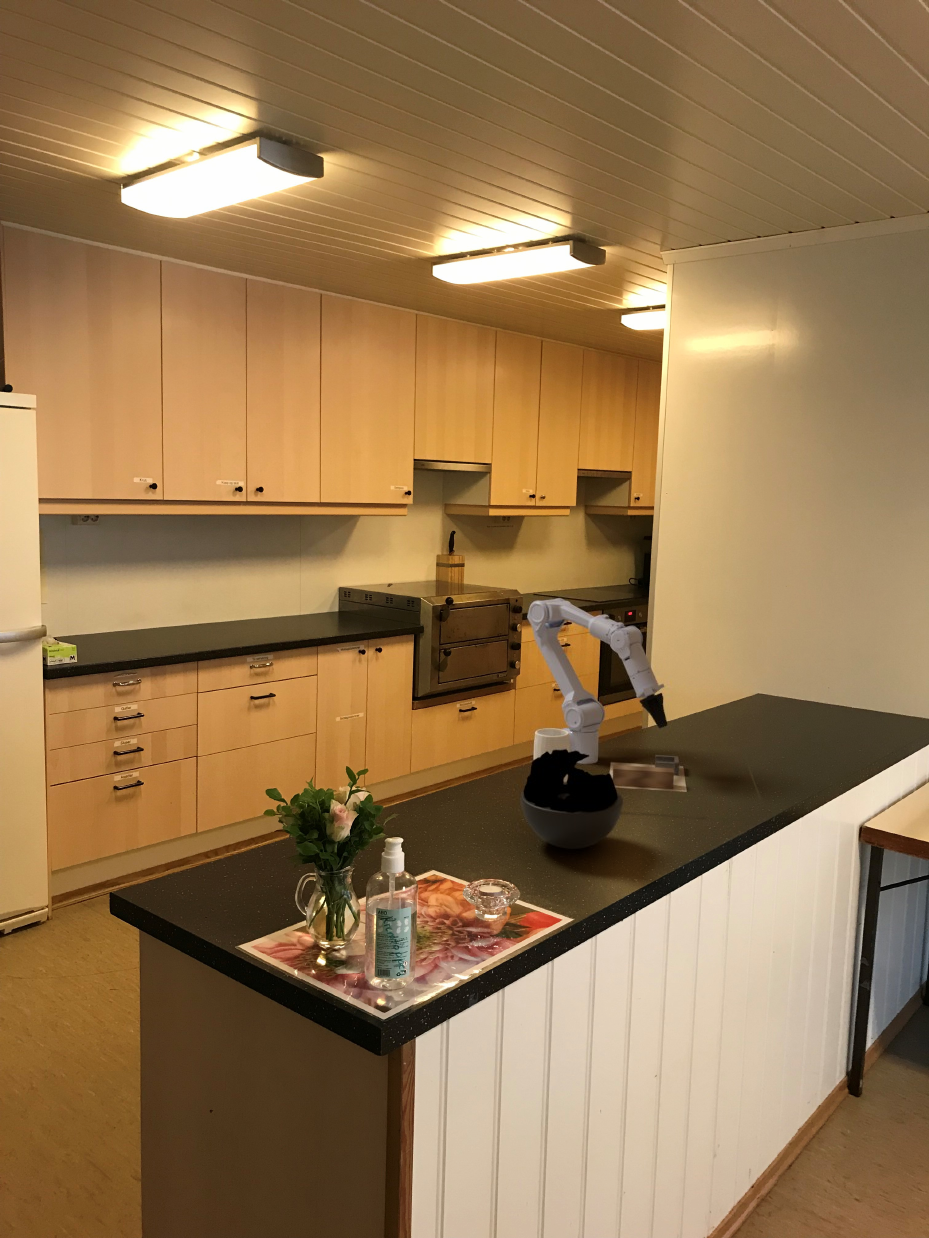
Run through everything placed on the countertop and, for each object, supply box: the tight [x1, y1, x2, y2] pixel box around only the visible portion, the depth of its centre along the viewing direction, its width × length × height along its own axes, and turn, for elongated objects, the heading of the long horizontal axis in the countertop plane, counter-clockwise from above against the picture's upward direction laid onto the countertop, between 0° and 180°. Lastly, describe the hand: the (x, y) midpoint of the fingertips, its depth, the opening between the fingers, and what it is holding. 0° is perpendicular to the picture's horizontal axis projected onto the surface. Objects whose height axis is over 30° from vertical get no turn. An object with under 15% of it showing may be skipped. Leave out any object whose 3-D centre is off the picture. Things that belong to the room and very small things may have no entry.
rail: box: [613, 765, 674, 789], centre depth 231 cm, size 14×3×4 cm, turn 80°
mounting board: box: [609, 761, 687, 793], centre depth 239 cm, size 18×21×1 cm
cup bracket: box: [654, 754, 680, 776], centre depth 243 cm, size 6×7×3 cm
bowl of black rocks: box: [520, 749, 624, 850], centre depth 193 cm, size 20×20×19 cm
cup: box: [533, 727, 570, 782], centre depth 228 cm, size 8×8×14 cm
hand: (663, 725), depth 235 cm, fingers open, 7 cm apart
